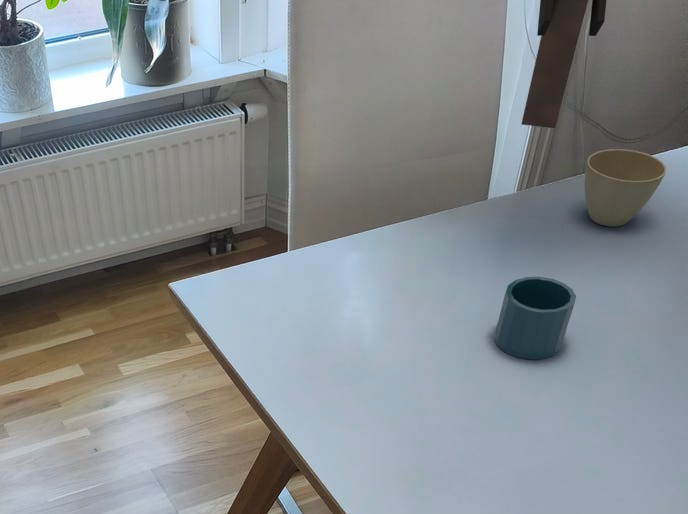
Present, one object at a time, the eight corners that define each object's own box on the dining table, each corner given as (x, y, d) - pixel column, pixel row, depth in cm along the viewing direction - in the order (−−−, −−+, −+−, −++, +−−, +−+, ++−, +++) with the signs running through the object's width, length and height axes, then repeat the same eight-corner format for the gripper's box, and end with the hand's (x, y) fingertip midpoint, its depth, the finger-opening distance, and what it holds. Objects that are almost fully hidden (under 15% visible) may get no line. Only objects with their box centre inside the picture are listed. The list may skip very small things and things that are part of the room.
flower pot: (626, 243, 118) (645, 188, 112) (558, 220, 122) (573, 166, 116) (659, 215, 122) (679, 161, 117) (592, 195, 127) (608, 142, 121)
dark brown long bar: (560, 115, 107) (614, -94, 92) (556, 129, 105) (610, -83, 89) (525, 111, 108) (572, -96, 93) (520, 125, 106) (567, -86, 90)
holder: (564, 330, 105) (579, 282, 101) (555, 364, 101) (571, 317, 96) (500, 318, 107) (512, 272, 102) (489, 352, 103) (501, 305, 98)
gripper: (665, -179, 96) (641, 48, 99) (498, -176, 98) (479, 47, 101) (696, -239, 89) (669, 8, 92) (515, -235, 91) (494, 7, 93)
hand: (570, 28), depth 96 cm, fingers closed on dark brown long bar, 5 cm apart
